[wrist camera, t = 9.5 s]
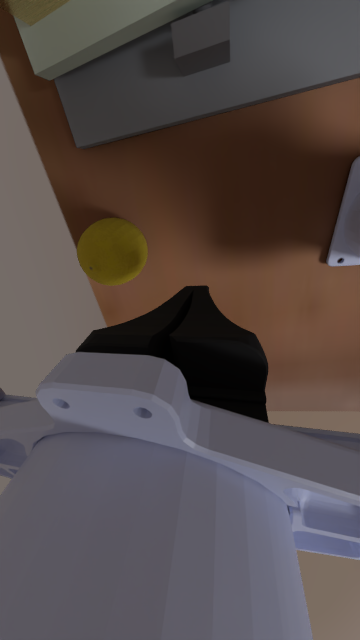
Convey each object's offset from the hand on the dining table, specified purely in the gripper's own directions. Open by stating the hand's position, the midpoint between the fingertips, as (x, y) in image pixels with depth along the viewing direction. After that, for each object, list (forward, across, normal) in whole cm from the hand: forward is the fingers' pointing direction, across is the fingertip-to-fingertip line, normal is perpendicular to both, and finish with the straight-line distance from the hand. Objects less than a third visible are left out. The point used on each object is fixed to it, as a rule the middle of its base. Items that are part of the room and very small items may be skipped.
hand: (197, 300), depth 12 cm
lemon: (+11, +8, -2) cm, 14 cm away
